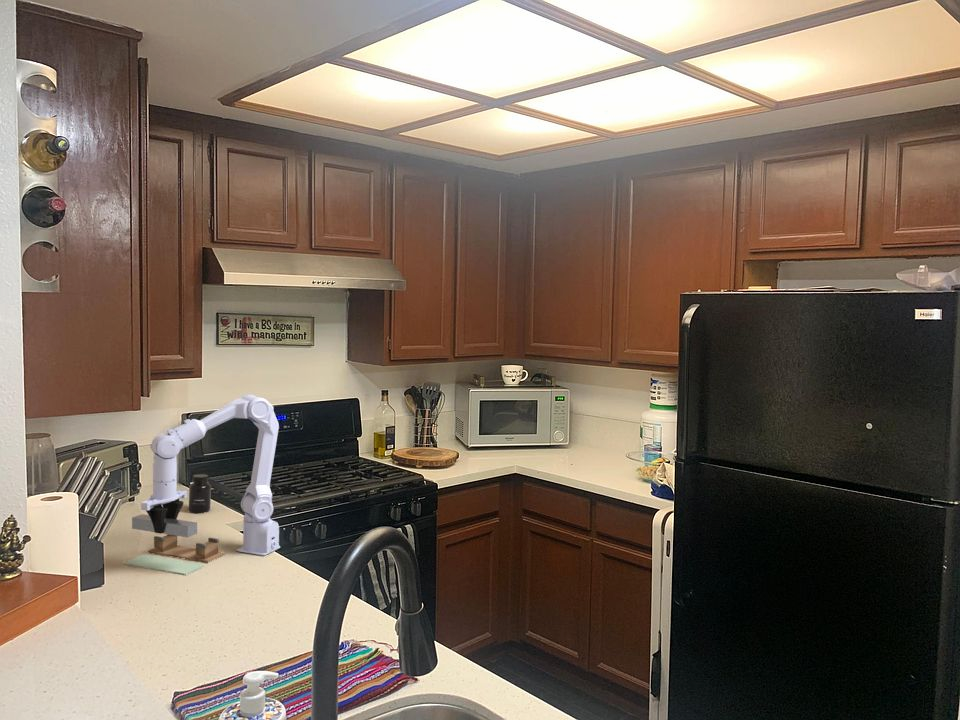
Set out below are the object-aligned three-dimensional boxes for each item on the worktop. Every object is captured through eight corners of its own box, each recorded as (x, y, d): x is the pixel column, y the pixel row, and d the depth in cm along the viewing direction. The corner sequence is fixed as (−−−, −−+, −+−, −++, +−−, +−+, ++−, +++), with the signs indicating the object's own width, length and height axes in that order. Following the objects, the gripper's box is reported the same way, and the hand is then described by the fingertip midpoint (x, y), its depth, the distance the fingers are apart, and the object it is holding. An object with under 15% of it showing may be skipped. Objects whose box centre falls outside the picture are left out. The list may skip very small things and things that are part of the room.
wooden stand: (224, 555, 202) (224, 538, 202) (207, 563, 196) (207, 546, 196) (166, 545, 209) (166, 529, 208) (147, 552, 202) (147, 536, 202)
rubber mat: (204, 566, 193) (204, 565, 193) (186, 575, 187) (186, 573, 186) (143, 556, 199) (143, 554, 199) (123, 564, 193) (124, 562, 193)
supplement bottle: (196, 515, 239) (196, 479, 239) (184, 511, 244) (184, 475, 243) (214, 510, 245) (215, 475, 244) (203, 507, 249) (203, 472, 248)
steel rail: (197, 533, 191) (197, 522, 191) (187, 537, 188) (187, 526, 188) (141, 525, 197) (142, 514, 197) (132, 528, 194) (132, 517, 193)
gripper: (172, 472, 200) (171, 521, 200) (131, 484, 186) (131, 536, 187) (193, 475, 197) (193, 524, 198) (154, 487, 184) (153, 540, 185)
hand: (164, 530), depth 192 cm, fingers closed on steel rail, 3 cm apart
